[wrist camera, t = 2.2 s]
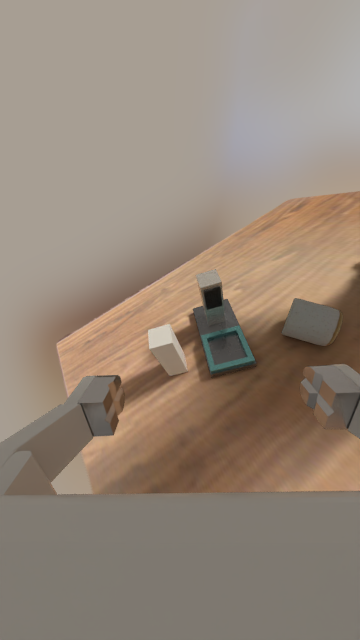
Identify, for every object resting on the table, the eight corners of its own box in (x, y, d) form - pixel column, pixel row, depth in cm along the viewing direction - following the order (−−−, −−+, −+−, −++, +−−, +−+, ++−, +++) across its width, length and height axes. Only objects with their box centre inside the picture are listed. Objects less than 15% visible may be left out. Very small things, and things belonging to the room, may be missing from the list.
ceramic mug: (326, 355, 35) (344, 331, 29) (278, 341, 39) (285, 318, 33) (333, 313, 40) (349, 286, 34) (290, 305, 44) (298, 279, 38)
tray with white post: (193, 312, 49) (181, 271, 39) (227, 302, 49) (224, 258, 38) (211, 377, 38) (200, 343, 28) (256, 366, 37) (262, 327, 27)
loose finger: (167, 358, 43) (148, 328, 34) (184, 353, 43) (169, 322, 34) (169, 376, 40) (149, 349, 31) (187, 371, 40) (172, 342, 31)
